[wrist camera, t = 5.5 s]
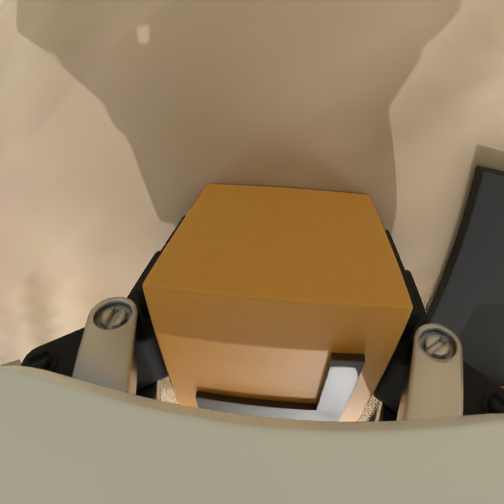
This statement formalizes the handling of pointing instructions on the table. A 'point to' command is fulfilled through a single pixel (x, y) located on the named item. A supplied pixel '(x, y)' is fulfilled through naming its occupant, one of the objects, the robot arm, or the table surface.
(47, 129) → the table surface
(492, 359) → the word mat
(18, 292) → the table surface
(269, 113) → the table surface
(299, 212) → the letter L
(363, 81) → the table surface
